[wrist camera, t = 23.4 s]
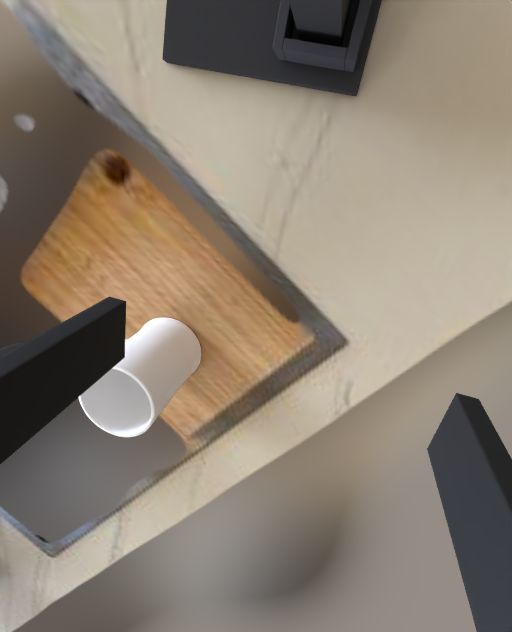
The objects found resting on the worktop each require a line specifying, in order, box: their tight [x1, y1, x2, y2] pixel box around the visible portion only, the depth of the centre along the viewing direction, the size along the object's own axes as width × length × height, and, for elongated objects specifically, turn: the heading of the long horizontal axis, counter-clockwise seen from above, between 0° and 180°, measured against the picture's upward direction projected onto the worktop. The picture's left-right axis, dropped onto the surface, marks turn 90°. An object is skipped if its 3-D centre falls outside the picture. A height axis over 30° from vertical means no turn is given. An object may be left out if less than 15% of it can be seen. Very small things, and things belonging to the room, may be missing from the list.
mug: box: [79, 317, 201, 437], centre depth 39 cm, size 12×8×12 cm
